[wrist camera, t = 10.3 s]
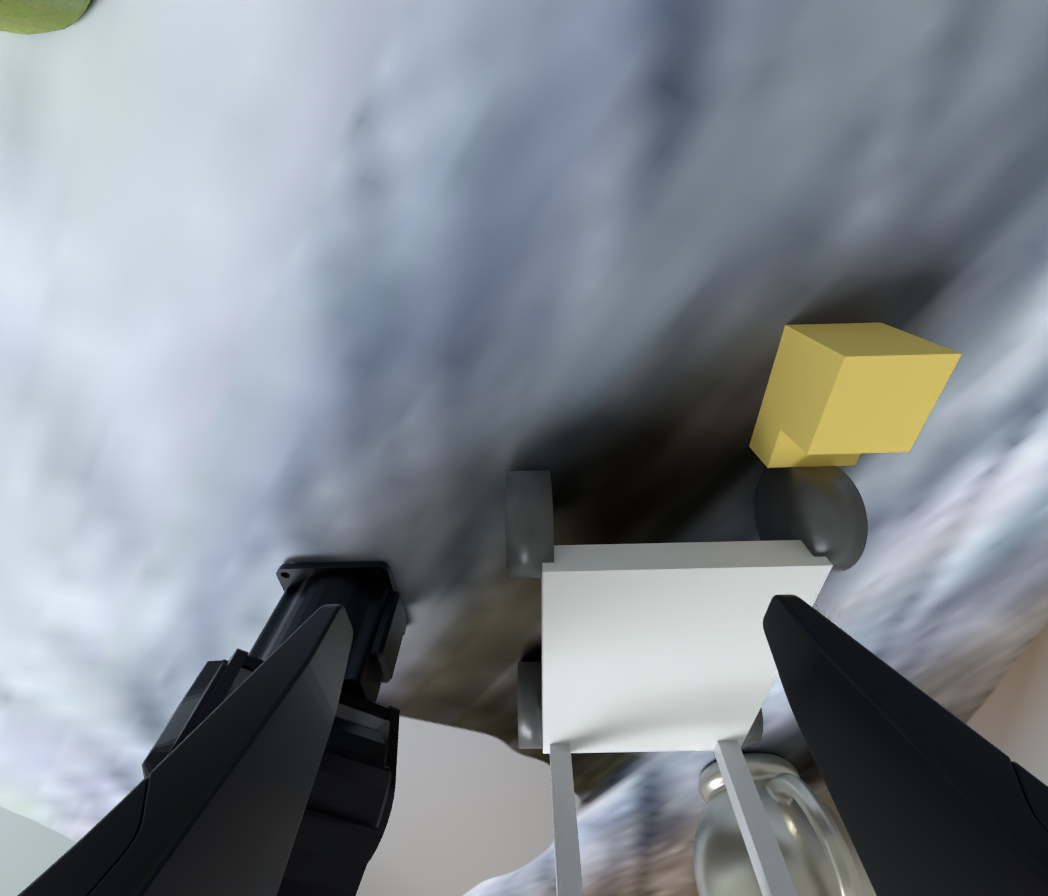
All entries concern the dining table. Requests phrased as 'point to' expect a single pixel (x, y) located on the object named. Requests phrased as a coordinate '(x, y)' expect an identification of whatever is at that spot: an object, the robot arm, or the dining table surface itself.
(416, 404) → the dining table surface
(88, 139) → the dining table surface
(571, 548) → the trolley
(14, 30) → the plant pot
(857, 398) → the yellow step block
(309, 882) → the robot arm
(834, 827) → the teapot
